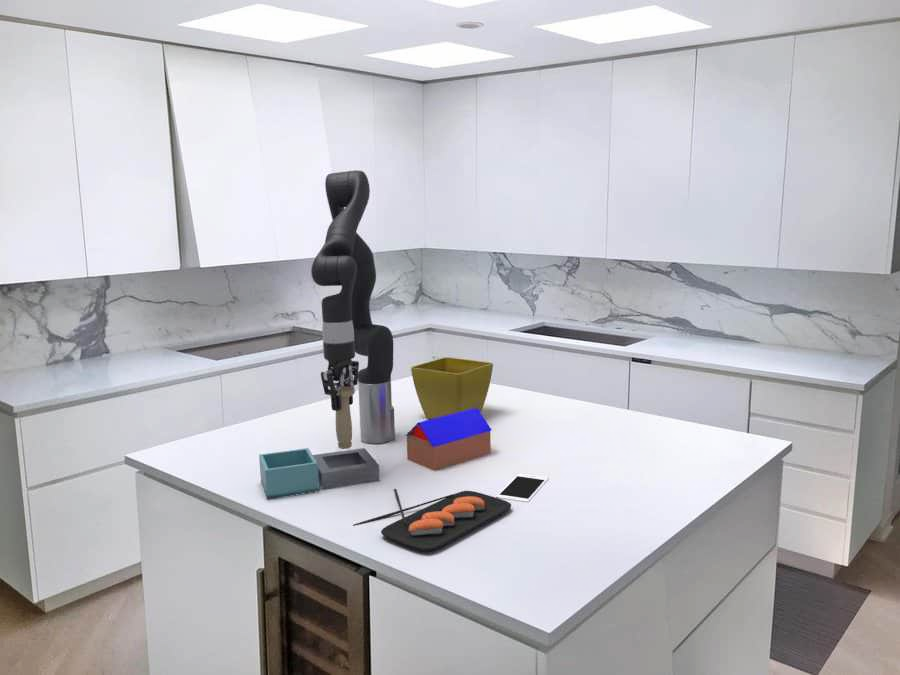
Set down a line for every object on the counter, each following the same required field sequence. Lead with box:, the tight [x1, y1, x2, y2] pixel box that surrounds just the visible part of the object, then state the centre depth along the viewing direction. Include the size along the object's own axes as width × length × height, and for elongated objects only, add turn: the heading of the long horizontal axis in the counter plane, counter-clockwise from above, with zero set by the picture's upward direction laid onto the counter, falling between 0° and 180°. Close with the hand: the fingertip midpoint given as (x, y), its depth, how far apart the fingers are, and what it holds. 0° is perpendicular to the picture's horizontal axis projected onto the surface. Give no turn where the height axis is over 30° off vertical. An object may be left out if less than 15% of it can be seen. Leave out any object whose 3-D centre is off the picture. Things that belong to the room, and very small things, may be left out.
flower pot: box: [410, 356, 494, 420], centre depth 236 cm, size 19×19×17 cm
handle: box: [335, 386, 356, 450], centre depth 186 cm, size 5×6×15 cm
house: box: [405, 408, 493, 472], centre depth 199 cm, size 12×20×12 cm, turn 130°
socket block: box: [312, 447, 380, 490], centre depth 188 cm, size 14×14×4 cm
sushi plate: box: [352, 488, 512, 551], centre depth 164 cm, size 29×30×4 cm
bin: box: [258, 447, 320, 500], centre depth 181 cm, size 12×12×7 cm
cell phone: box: [495, 473, 550, 503], centre depth 178 cm, size 8×16×1 cm, turn 156°
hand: (342, 406), depth 185 cm, fingers closed on handle, 5 cm apart
